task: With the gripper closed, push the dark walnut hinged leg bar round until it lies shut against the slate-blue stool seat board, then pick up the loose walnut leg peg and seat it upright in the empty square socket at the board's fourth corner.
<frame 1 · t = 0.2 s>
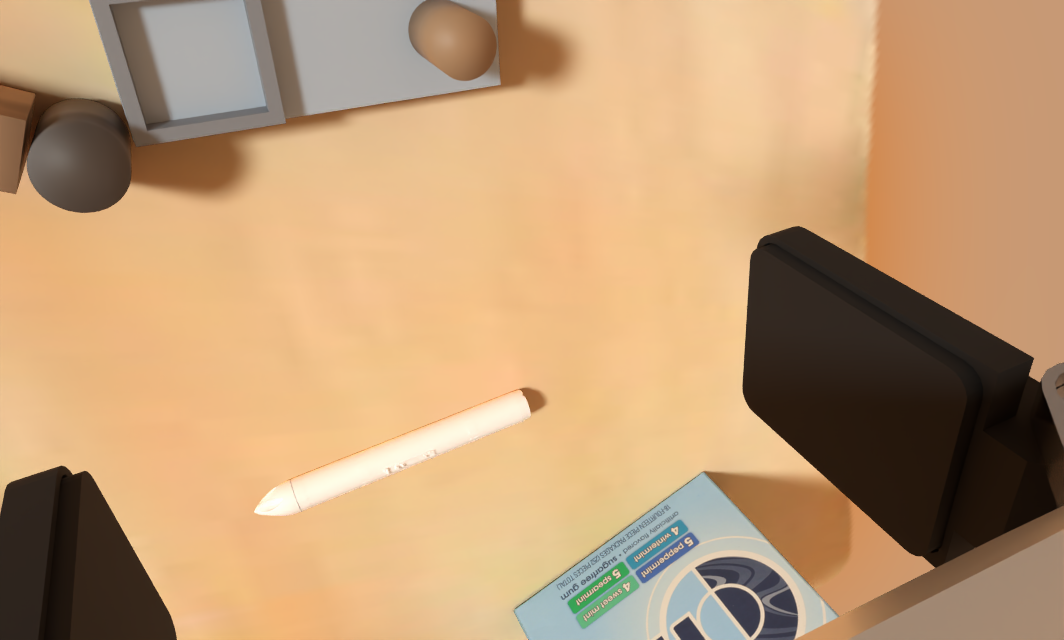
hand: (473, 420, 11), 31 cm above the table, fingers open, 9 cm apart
marker: (390, 443, 51), on the table
gum box: (617, 549, 66), on the table
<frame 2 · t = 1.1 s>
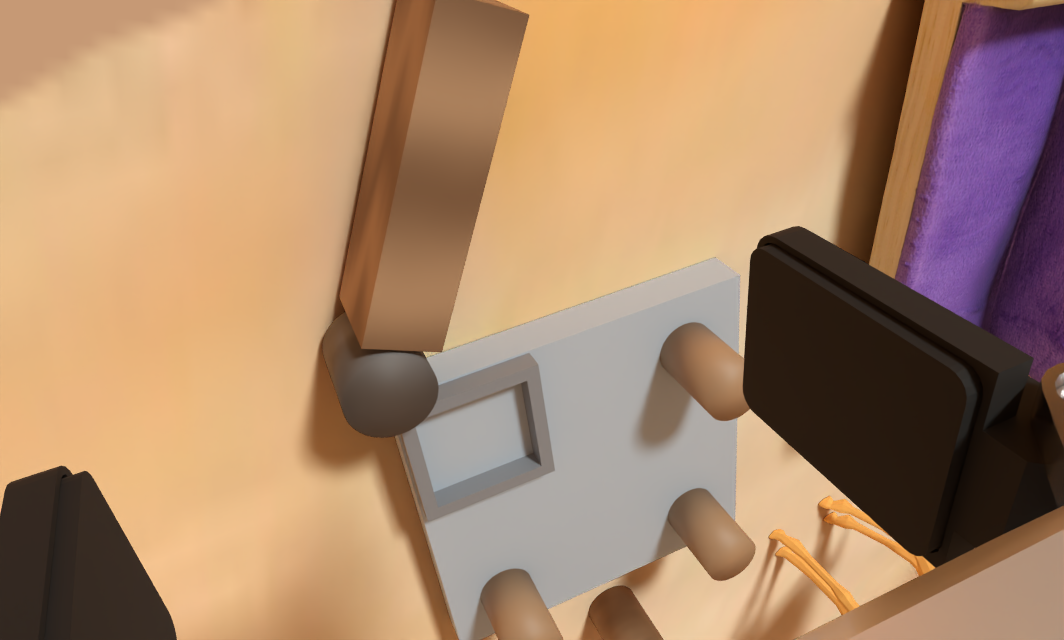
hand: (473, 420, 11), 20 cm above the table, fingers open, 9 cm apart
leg: (411, 223, 28), point 3 cm above the table, hinge at 65.0°
giraffe: (774, 541, 53), on the table
stool seat: (574, 449, 41), on the table
leg peg: (610, 604, 48), on the table
toy sofa: (916, 163, 41), on the table
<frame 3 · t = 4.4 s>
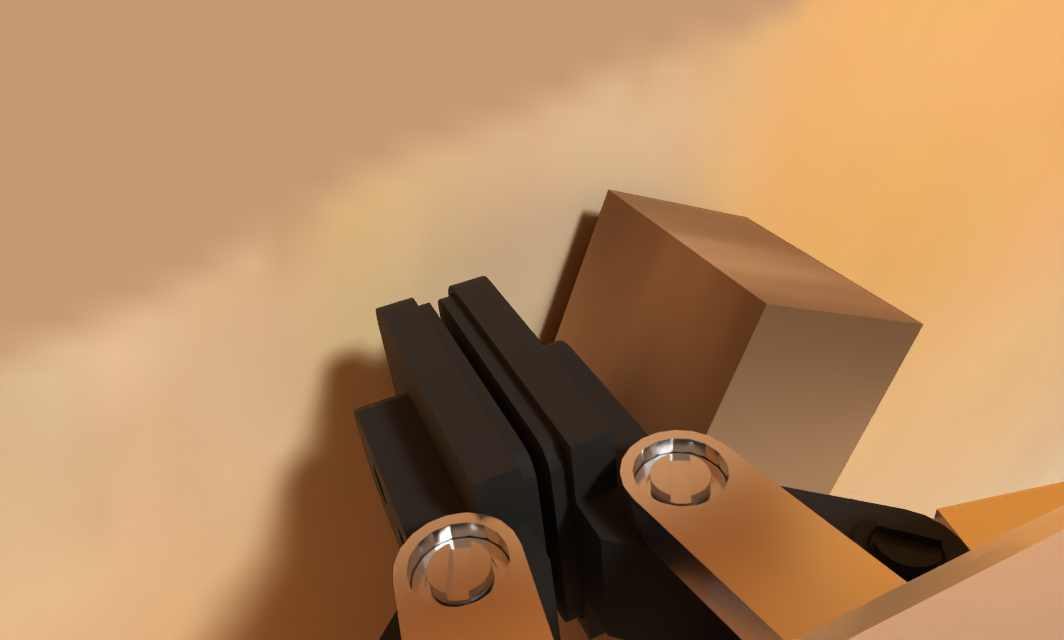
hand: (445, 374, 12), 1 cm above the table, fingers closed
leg: (583, 636, 15), point 2 cm above the table, hinge at 64.8°, touching gripper
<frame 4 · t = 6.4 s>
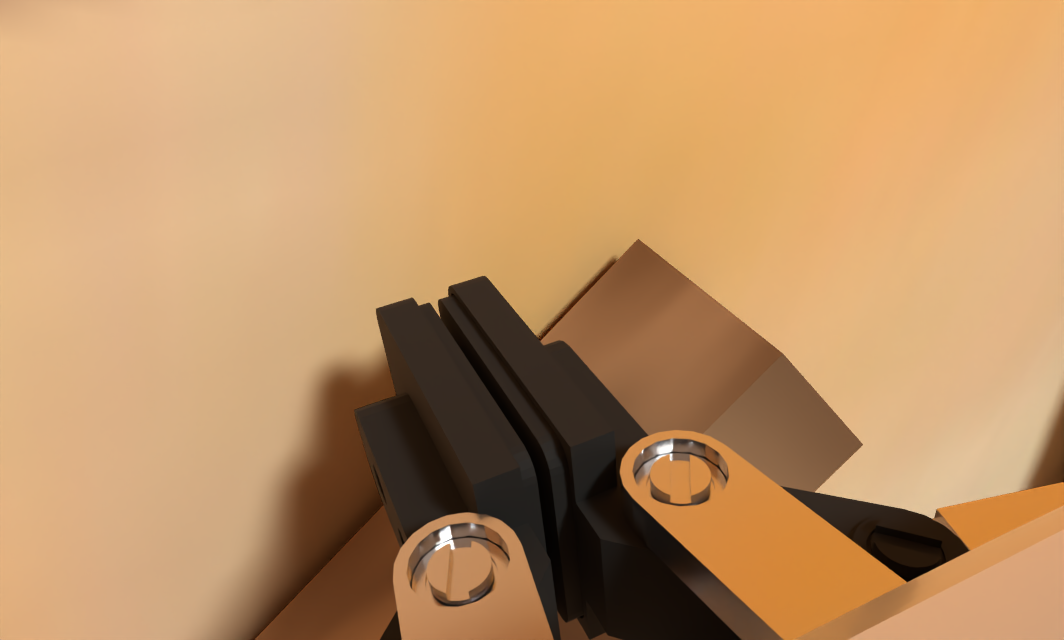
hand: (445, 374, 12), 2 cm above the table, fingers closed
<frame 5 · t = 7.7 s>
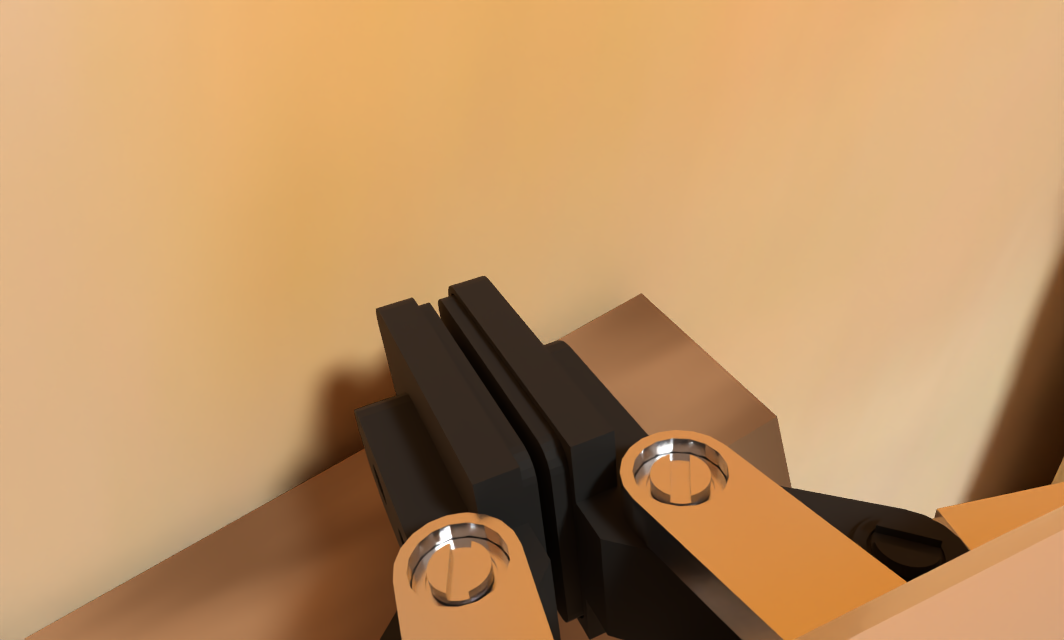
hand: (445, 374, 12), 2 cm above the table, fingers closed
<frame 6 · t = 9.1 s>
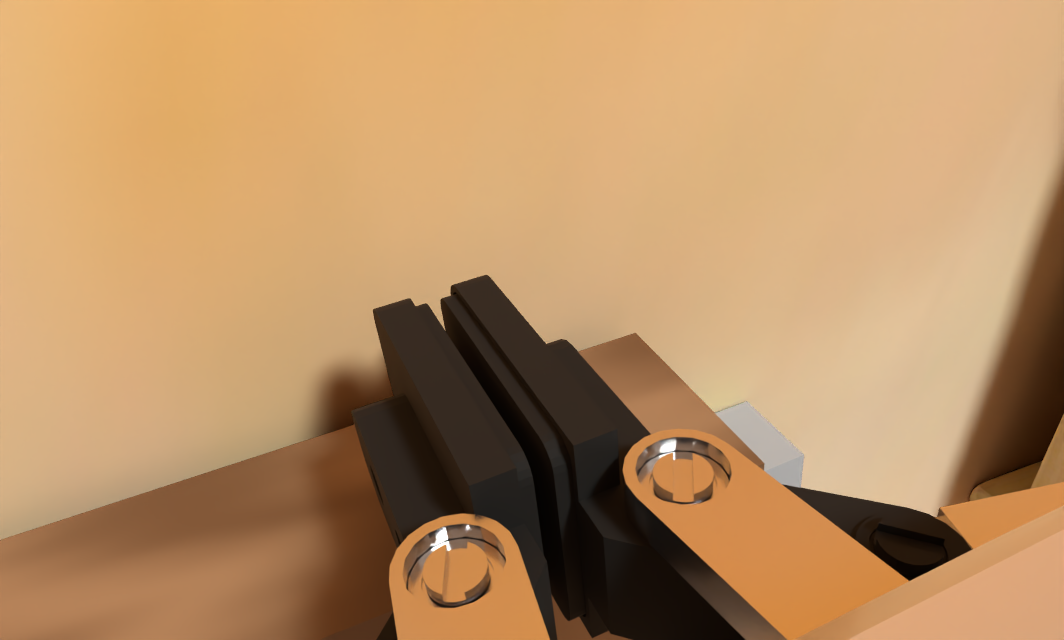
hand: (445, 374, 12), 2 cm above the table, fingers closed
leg: (244, 626, 12), point 3 cm above the table, hinge at -0.9°, touching gripper
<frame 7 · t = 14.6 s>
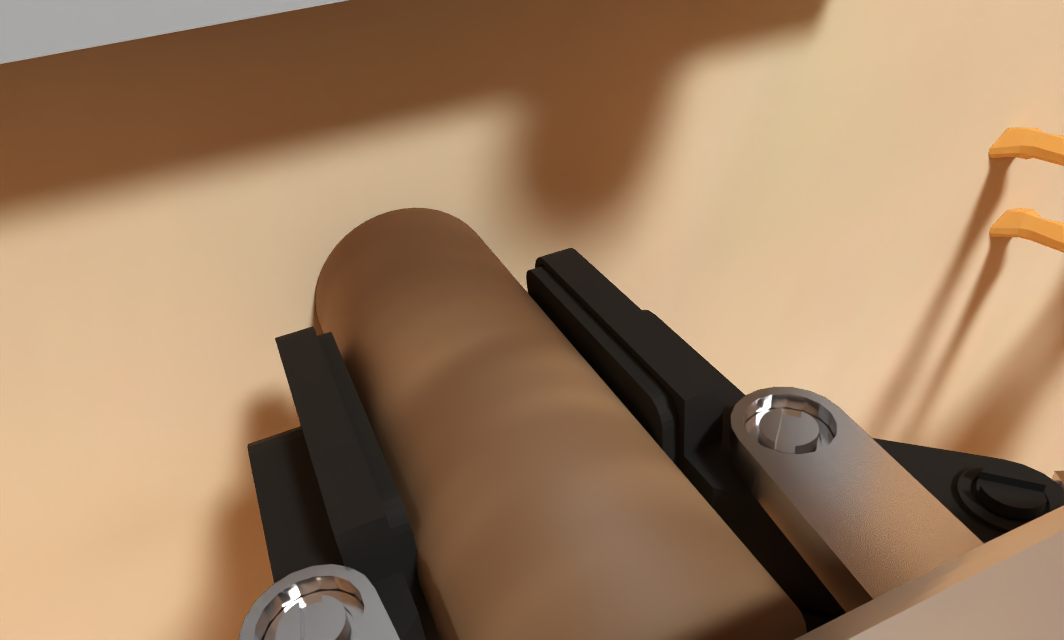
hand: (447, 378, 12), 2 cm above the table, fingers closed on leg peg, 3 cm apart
giraffe: (992, 185, 18), on the table, touching arm
leg peg: (408, 293, 13), on the table, touching gripper
when the fingers open (4 cm above the table, at t = 20.3 s): leg peg stays where it is, resting on stool seat.
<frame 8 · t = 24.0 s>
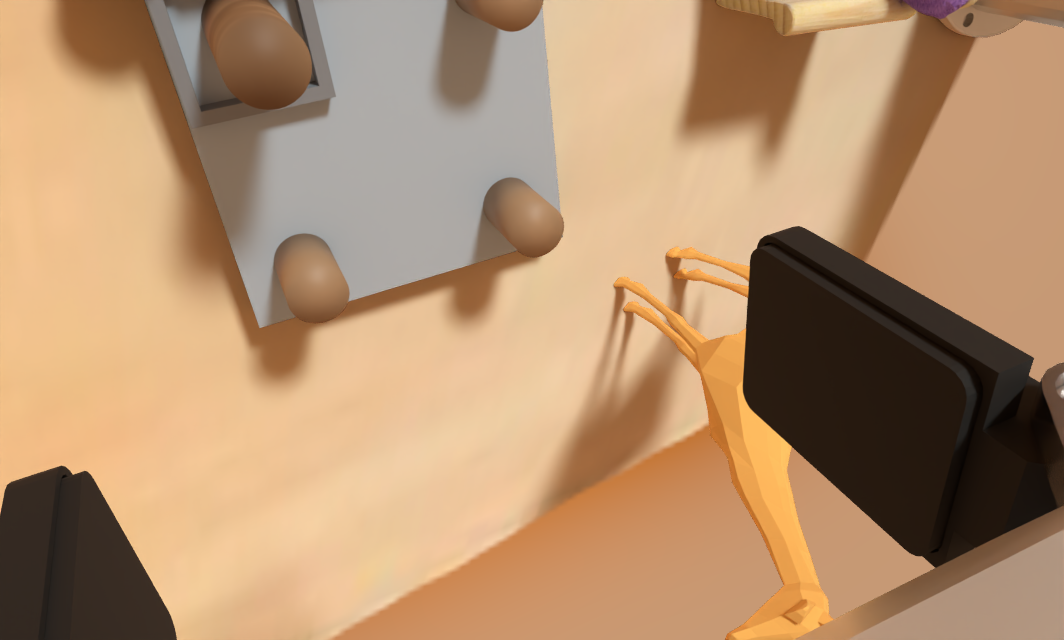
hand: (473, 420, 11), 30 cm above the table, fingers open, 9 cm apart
giraffe: (621, 294, 51), on the table
stool seat: (377, 115, 39), on the table
leg peg: (240, 23, 33), point 2 cm above the table, touching stool seat
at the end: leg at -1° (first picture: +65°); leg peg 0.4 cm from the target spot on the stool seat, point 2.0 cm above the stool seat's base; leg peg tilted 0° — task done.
